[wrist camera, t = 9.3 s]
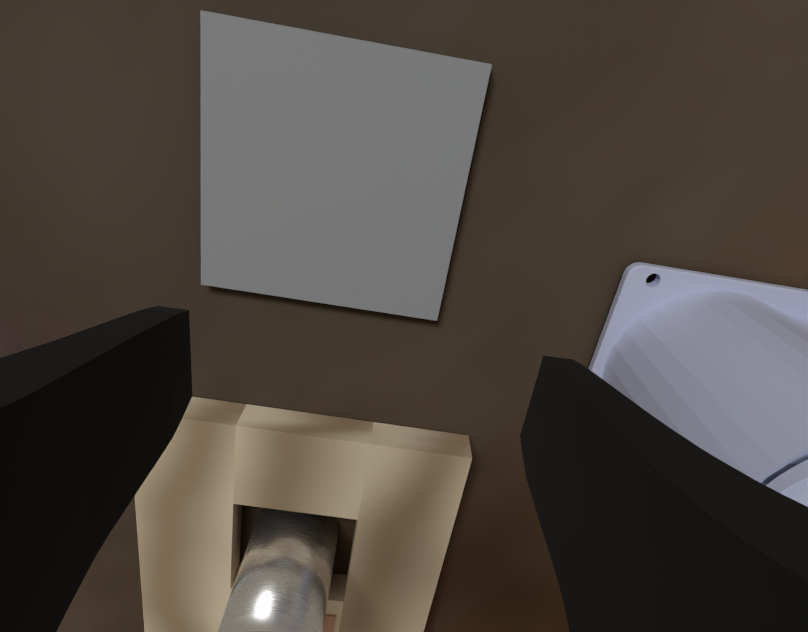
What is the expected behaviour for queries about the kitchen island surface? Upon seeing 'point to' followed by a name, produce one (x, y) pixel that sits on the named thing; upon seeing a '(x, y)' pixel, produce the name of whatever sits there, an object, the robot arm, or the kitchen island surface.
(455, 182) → the pad
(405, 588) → the hole plate
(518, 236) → the kitchen island surface
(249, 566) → the steel peg
